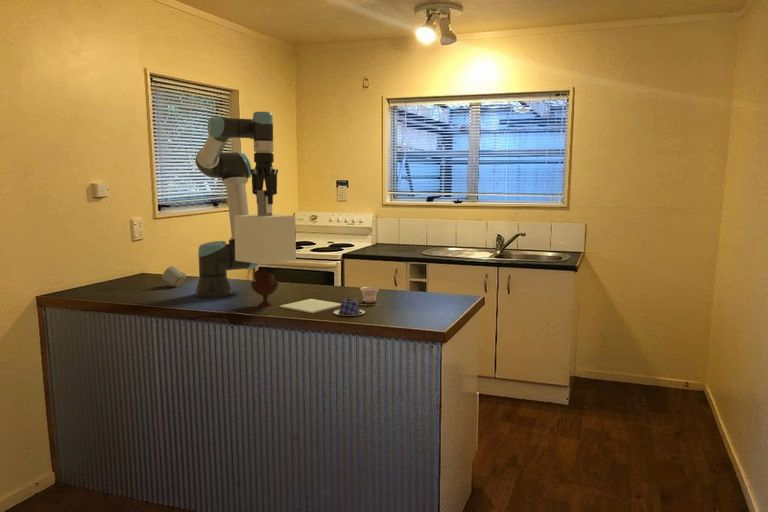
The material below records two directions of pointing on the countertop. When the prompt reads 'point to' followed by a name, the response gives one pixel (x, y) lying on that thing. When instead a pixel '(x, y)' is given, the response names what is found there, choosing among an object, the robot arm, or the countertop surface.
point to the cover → (264, 235)
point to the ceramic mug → (174, 276)
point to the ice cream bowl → (264, 285)
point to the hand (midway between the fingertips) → (264, 212)
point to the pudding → (349, 308)
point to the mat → (311, 305)
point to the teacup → (369, 294)
